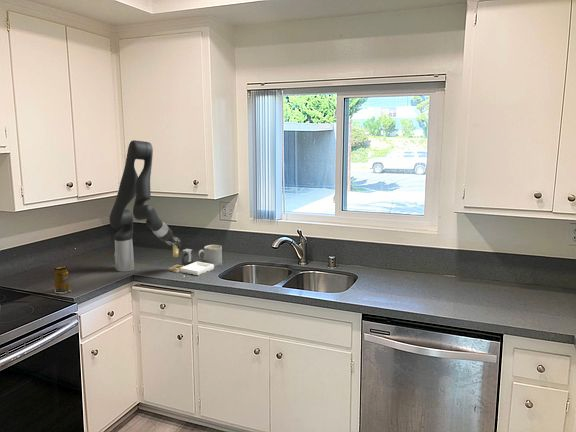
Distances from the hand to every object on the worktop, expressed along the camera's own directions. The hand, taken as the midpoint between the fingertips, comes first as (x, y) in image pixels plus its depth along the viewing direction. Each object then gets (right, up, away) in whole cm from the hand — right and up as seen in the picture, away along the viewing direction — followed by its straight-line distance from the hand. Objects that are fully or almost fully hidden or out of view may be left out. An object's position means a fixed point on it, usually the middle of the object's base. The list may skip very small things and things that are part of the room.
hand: (178, 247), depth 254 cm
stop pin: (-1, -5, -1) cm, 5 cm away
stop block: (-1, -12, +1) cm, 12 cm away
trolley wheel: (+3, -11, +8) cm, 14 cm away
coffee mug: (+15, -10, +13) cm, 23 cm away
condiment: (-48, -19, -32) cm, 61 cm away
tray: (+10, -12, 0) cm, 16 cm away
